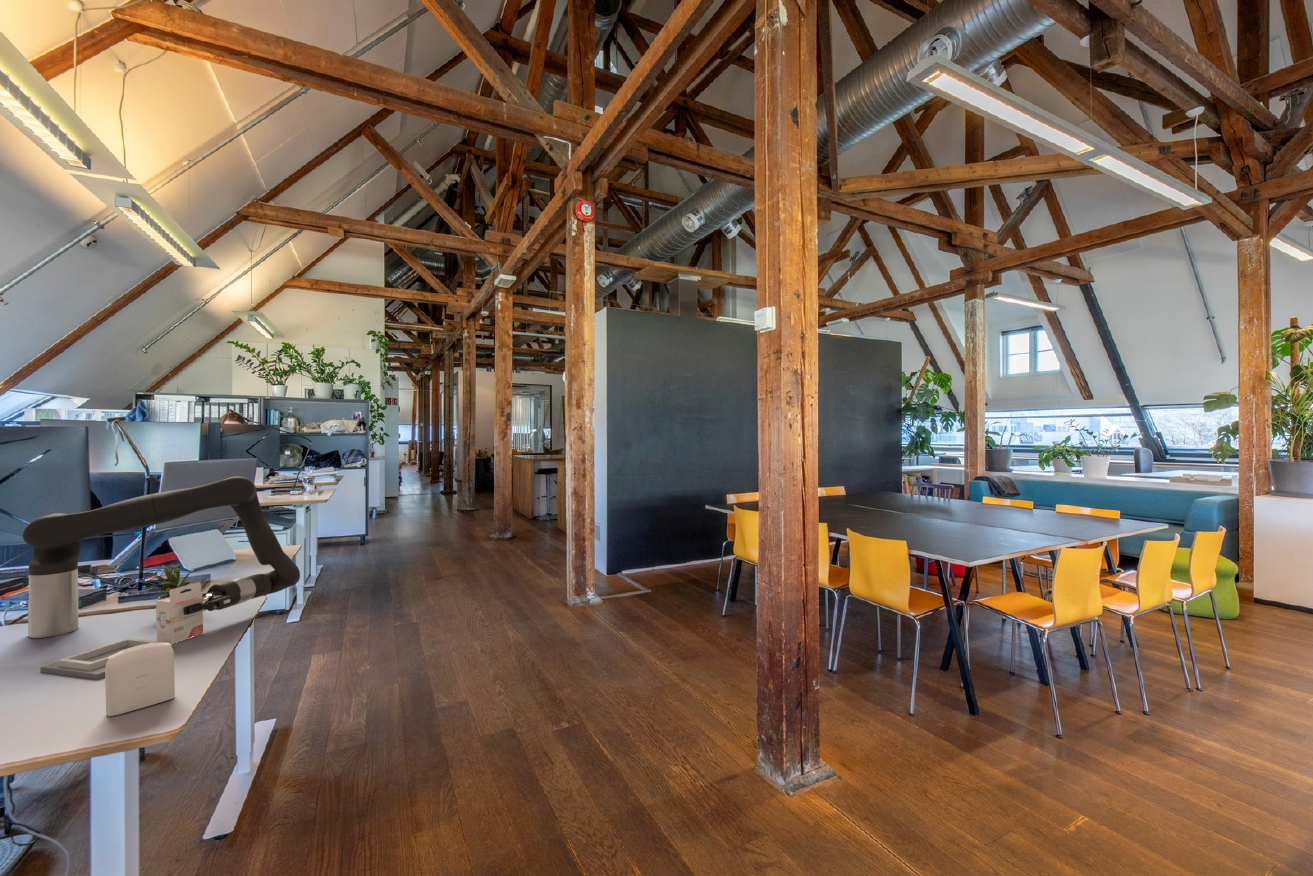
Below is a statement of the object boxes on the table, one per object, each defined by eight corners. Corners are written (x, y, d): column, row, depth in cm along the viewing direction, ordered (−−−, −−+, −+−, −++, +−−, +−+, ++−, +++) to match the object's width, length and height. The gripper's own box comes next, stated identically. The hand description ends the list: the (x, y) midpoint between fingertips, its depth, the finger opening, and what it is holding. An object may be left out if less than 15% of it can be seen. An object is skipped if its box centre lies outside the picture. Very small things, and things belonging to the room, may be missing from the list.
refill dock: (40, 671, 126) (40, 660, 126) (121, 645, 142) (121, 635, 142) (97, 679, 122) (97, 667, 122) (174, 651, 138) (174, 641, 138)
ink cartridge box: (189, 633, 151) (189, 580, 151) (203, 634, 150) (203, 581, 150) (155, 644, 143) (155, 589, 142) (170, 646, 142) (169, 590, 141)
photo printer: (106, 720, 105) (106, 656, 105) (104, 712, 108) (103, 650, 107) (176, 700, 113) (176, 641, 113) (172, 693, 115) (172, 636, 115)
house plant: (127, 620, 162) (126, 565, 161) (182, 606, 174) (181, 556, 174) (154, 626, 156) (154, 570, 156) (209, 611, 169) (208, 559, 169)
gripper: (213, 578, 162) (151, 594, 146) (251, 581, 159) (192, 597, 143) (213, 603, 162) (152, 622, 146) (251, 607, 159) (193, 626, 143)
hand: (172, 610), depth 144 cm, fingers open, 8 cm apart
